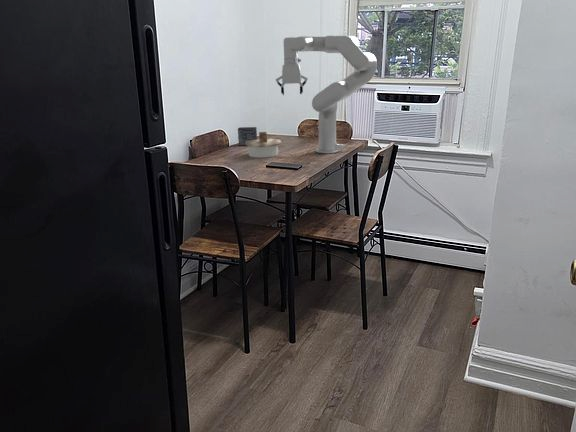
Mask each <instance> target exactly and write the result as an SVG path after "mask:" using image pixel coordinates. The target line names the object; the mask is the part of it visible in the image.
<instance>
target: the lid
mask: <svg viewBox="0 0 576 432" xmlns="http://www.w3.org/2000/svg"><path fill="white" fill-rule="evenodd" d="M267 135H268V133H267V131H259V132H258V138H257V139H256V140H250V141H247V142H246V145H247V146H246V147H248V146H251V147H269V146H276V145H278V146H279V145H281V144H282V141H281V140H280V139H276V138H275V139H274V138H268V136H267Z"/></svg>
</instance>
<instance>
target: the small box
mask: <svg viewBox="0 0 576 432" xmlns="http://www.w3.org/2000/svg"><path fill="white" fill-rule="evenodd" d="M237 135H238V136H237V137H238V138H237V139H238V147H248V146H247V145H246V142H247V141H250V140H256V139H258V131H257V126H247V127H245V126H244V127H243V126H241V127H237Z"/></svg>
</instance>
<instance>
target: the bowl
mask: <svg viewBox="0 0 576 432" xmlns="http://www.w3.org/2000/svg"><path fill="white" fill-rule="evenodd" d="M247 147H248V148H247V151H248V157H250V158H256V159H257V158H258V159H259V158H260V159H265V158H273V157H277V156H278V155H279V145H276V146H269V147H251V146H247Z"/></svg>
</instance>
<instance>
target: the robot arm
mask: <svg viewBox="0 0 576 432" xmlns="http://www.w3.org/2000/svg"><path fill="white" fill-rule="evenodd" d="M299 52H301V53H302V52H303V53H304V52H325V53H326V54H341V56H342V57H343V58H344V59H345V60H346V61H347V63H348V64H349V65H350V66H352V67H353V68H354V69H355V71H354V72H352V73H351V74H349V75H348V76H347V77H345V78H344V79H342V80H338V81H335V82H332V83H331V84H329V85H327V86H326V87H325V88H324V89H322V90H321V91H319V92H318V93H317V94H316V95H314V96H313V98H312V101H311V106H312V108H313V110H315V111H316V112H317V113H318V147H317V148H316V149H315V152H316V153H317V154H318V153H319V154H335V153H339V152H340V149H341V148H342V149H345V148H346V145H345V143H343V144H342V143H338V142H337V111H338V103H339V102H341V101H344V100H345V99H347V98H350V96H352V95H353V94H354V93H356V92H357V91H358V90H360V89H361V88H363V87H364V86H365V85H366V84H368V83H369V82H370V81H371V80H372V78H373V77H374V76H375V74H376V71H377V69H378V61H377V58H376V56H375V55H374V54H373V53H372V52H367V51H366V52H363V50H362V49H361V48H360V41H359V39H358V38H357V37H356V36H354V35H326V36H307V35H305V36H304V35H303V36H297V37H296V36H295V37H293V36H292V37H291V36H290V37H284V39H283V64H282V68H281V69H282V70H281V75H280V76H279V77H277V78H276V79H275V82H276V84H277V85H278V86H279V87H280V91H281V93H280V94H282V96H285V88H284V86H285V84H287V85H289V84H291V85H292V84H299V94H300V95H302V93H304V86H305V85H306V83H307V81H308V77H306V76H304V75H302V72H301V65H300V64H299V63H301V62H302V59H301V58H299ZM302 79H303V80H304V81H303V82H302ZM280 80H282V81H281V82H282V83H280Z"/></svg>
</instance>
